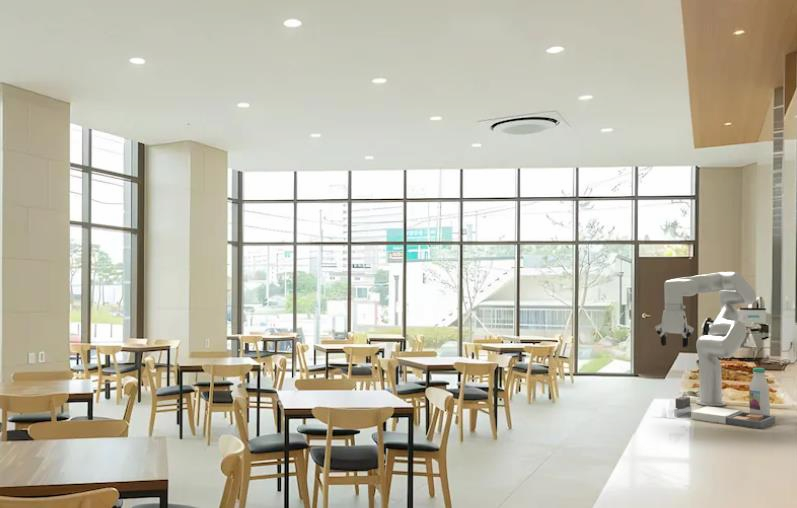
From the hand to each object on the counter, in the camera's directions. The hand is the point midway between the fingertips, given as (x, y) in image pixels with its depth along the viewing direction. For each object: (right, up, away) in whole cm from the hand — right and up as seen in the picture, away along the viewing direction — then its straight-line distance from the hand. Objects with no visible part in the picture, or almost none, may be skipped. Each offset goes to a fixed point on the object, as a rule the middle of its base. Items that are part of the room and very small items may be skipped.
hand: (674, 346), depth 320 cm
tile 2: (+23, -25, -26) cm, 43 cm away
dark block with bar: (0, -28, -9) cm, 30 cm away
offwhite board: (+10, -28, -19) cm, 35 cm away
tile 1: (+15, -27, -30) cm, 43 cm away
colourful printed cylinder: (+31, -28, -13) cm, 44 cm away
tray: (+20, -28, -29) cm, 45 cm away
